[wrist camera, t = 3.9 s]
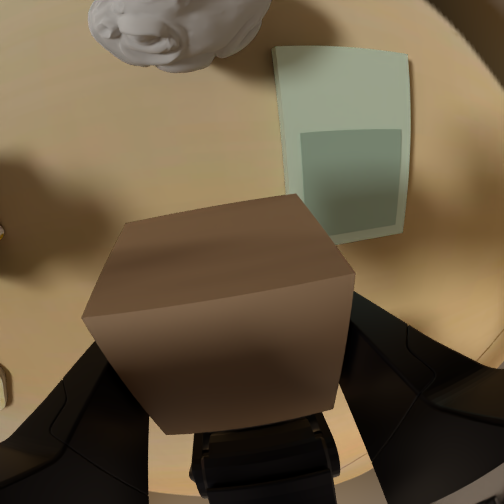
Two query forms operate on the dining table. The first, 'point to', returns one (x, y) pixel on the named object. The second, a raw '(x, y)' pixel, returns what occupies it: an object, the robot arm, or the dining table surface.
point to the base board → (346, 136)
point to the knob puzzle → (3, 389)
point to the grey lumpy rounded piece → (175, 30)
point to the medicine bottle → (1, 232)
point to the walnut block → (225, 315)
